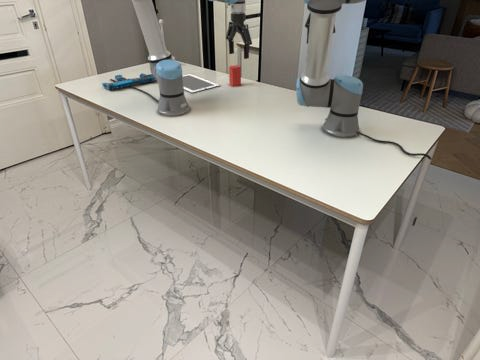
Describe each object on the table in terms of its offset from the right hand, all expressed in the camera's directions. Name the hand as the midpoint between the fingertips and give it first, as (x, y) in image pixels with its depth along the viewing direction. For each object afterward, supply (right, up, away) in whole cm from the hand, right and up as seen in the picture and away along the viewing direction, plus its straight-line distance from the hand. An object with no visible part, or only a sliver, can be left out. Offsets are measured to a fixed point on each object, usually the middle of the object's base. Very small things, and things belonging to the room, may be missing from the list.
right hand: (317, 45), depth 167 cm
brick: (-41, -9, +38) cm, 56 cm away
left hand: (-39, +1, +16) cm, 42 cm away
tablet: (-68, -7, +41) cm, 80 cm away
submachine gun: (-106, -6, +42) cm, 114 cm away
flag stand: (-91, +16, +75) cm, 119 cm away
